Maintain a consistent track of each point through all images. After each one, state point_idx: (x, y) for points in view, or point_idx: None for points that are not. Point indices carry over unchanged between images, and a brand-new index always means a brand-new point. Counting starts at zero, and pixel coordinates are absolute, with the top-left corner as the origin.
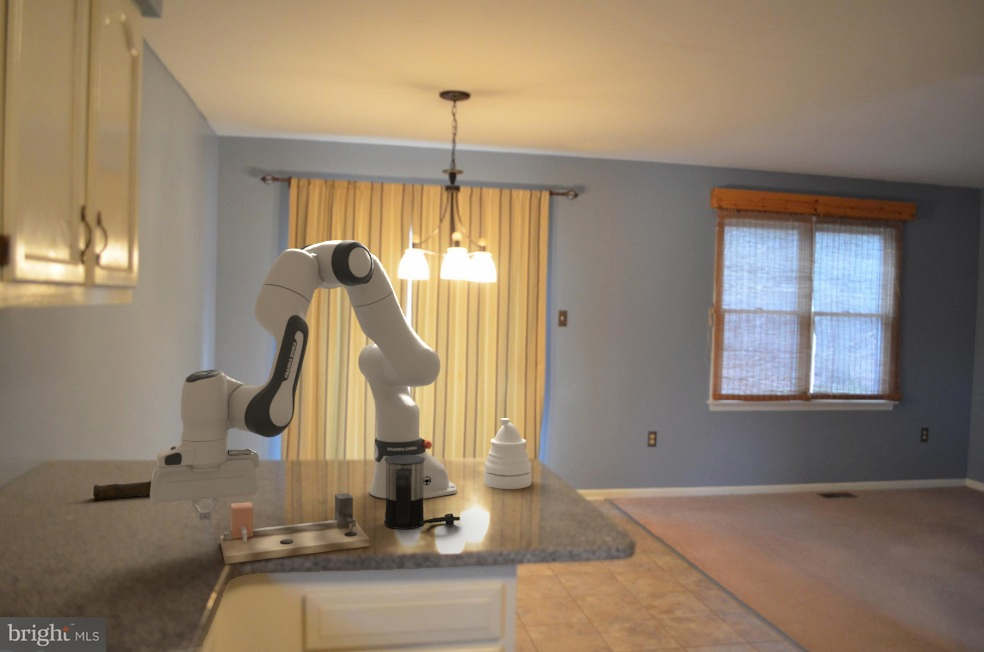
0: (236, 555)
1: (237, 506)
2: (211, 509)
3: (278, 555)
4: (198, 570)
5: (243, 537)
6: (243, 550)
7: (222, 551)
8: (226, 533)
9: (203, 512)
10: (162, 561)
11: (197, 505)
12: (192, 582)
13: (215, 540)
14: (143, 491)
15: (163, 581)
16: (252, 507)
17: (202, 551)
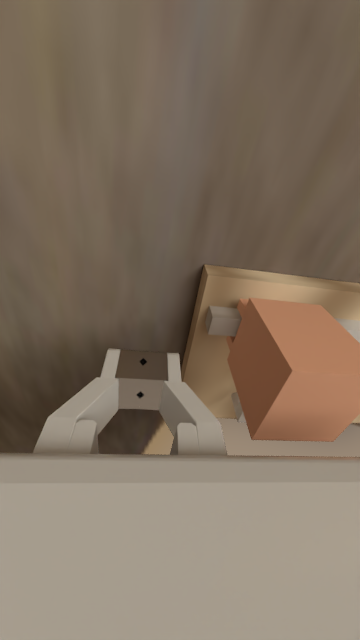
0: None
1: (293, 414)
2: (168, 423)
3: None
4: (119, 409)
5: (235, 412)
6: (221, 403)
7: (187, 344)
8: (217, 332)
9: (130, 407)
10: (30, 341)
11: (95, 399)
12: (106, 442)
13: (196, 227)
14: None
15: None
16: (332, 440)
17: (138, 314)
